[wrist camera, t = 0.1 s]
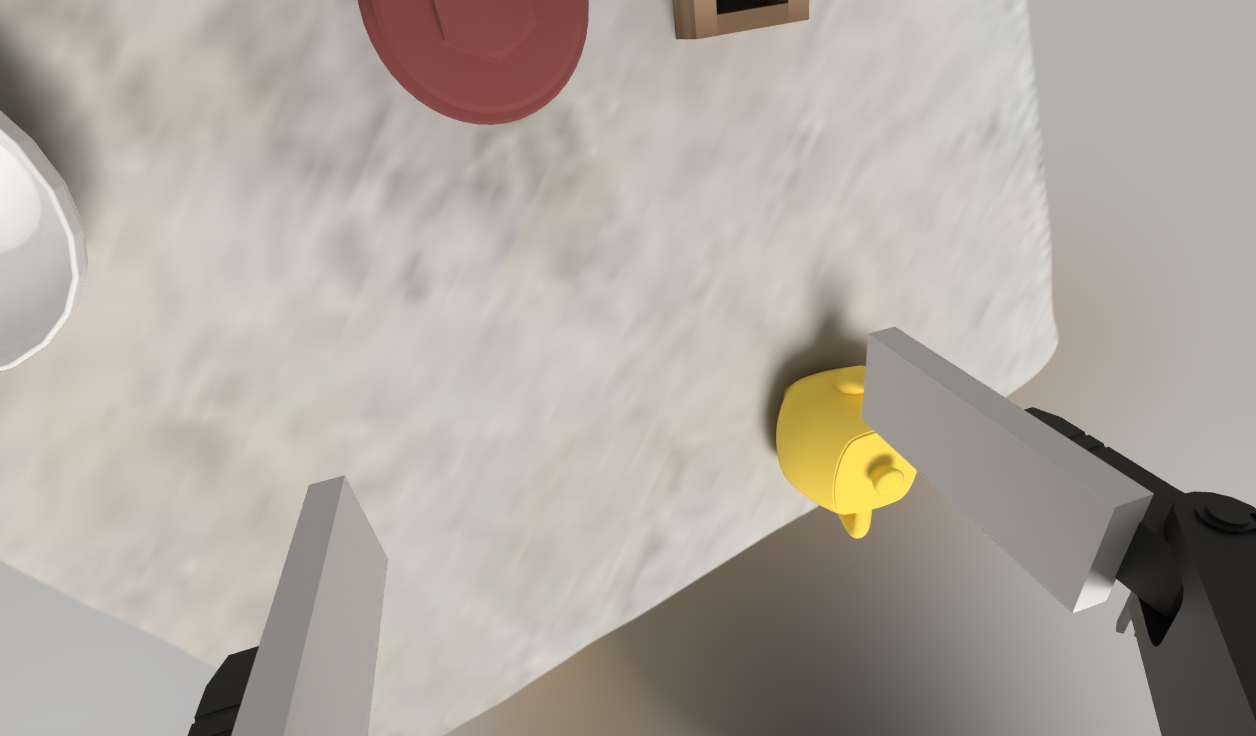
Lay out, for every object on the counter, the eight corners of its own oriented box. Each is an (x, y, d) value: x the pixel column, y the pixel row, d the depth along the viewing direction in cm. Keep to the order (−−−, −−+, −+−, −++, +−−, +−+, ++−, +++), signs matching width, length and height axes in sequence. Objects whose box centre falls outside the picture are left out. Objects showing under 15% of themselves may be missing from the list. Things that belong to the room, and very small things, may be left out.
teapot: (767, 327, 48) (841, 393, 39) (885, 304, 51) (980, 362, 41) (759, 491, 58) (816, 575, 48) (858, 466, 60) (932, 542, 51)
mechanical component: (361, 71, 33) (394, -142, 29) (534, 131, 37) (582, -50, 33) (321, 87, 22) (363, -242, 19) (568, 168, 26) (645, -91, 22)
